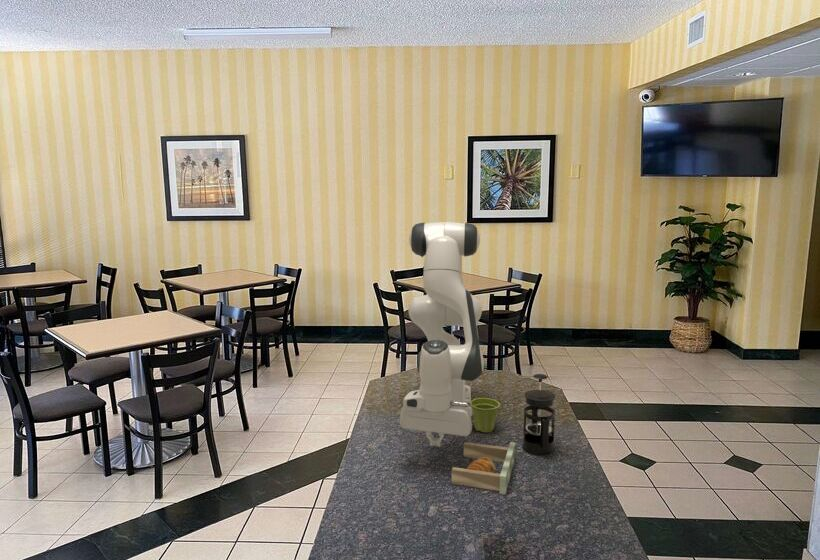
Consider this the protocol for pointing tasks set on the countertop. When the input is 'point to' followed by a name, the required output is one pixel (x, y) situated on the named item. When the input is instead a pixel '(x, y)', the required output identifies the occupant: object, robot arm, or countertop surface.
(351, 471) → the countertop surface
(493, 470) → the pastry
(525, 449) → the french press
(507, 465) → the wooden wall rack
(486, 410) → the plant pot
